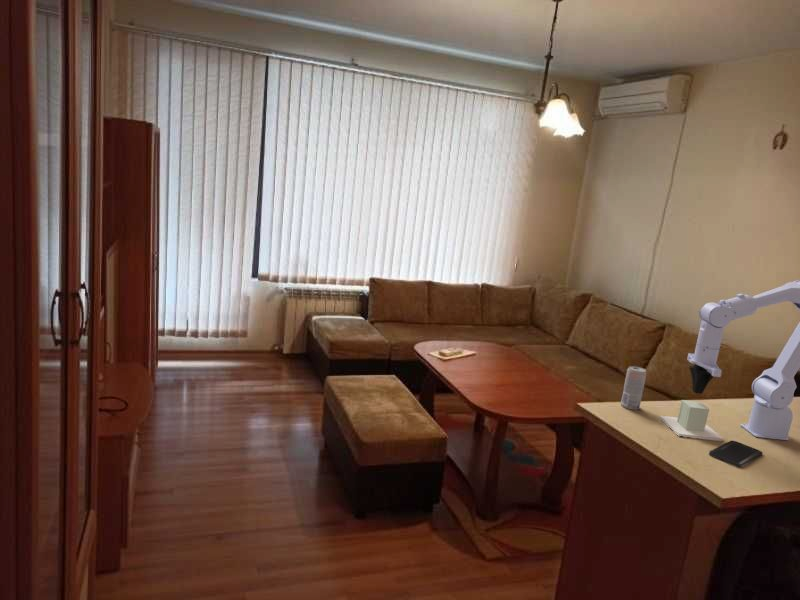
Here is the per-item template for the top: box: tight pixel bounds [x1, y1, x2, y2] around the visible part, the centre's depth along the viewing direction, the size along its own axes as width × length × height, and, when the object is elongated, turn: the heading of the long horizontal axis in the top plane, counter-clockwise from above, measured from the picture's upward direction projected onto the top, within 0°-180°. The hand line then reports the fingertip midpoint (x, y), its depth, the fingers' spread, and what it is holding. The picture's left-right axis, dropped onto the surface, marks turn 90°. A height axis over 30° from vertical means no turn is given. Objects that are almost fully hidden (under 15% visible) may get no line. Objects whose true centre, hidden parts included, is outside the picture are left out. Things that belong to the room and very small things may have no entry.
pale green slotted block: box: [677, 399, 710, 432], centre depth 161 cm, size 5×5×7 cm
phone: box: [708, 440, 763, 469], centre depth 148 cm, size 8×1×15 cm
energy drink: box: [620, 365, 647, 411], centre depth 173 cm, size 5×5×12 cm
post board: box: [659, 415, 724, 442], centre depth 161 cm, size 12×12×5 cm
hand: (697, 392), depth 162 cm, fingers closed
